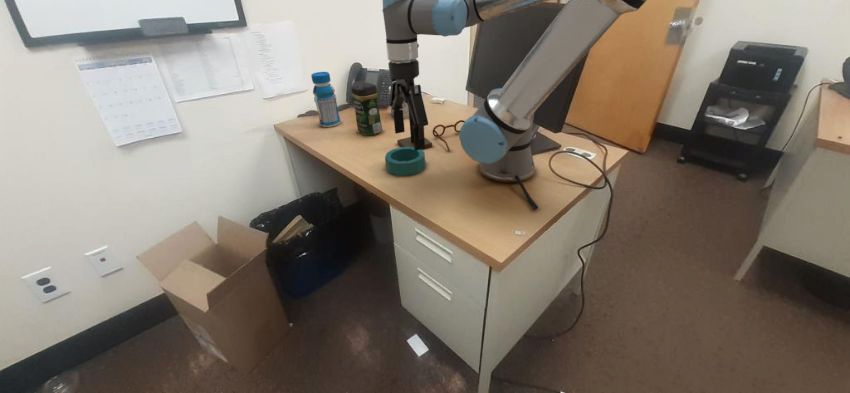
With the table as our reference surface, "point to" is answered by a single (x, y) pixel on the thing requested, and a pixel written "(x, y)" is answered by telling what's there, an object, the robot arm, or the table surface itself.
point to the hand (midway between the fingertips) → (409, 140)
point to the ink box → (405, 109)
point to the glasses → (444, 131)
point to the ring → (405, 168)
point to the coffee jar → (366, 108)
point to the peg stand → (412, 137)
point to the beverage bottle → (325, 99)
